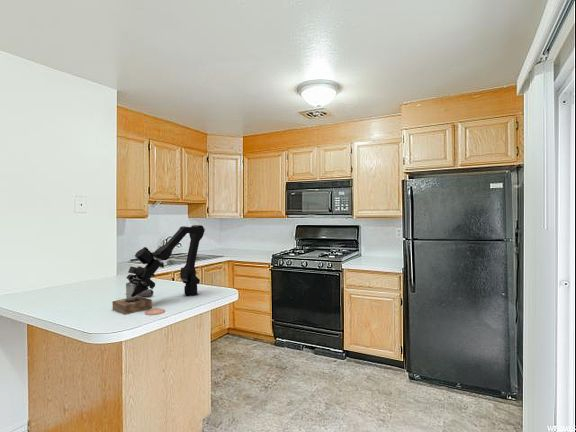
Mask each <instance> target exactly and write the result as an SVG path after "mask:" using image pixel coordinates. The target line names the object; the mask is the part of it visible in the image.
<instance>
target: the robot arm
mask: <svg viewBox="0 0 576 432" xmlns="http://www.w3.org/2000/svg"><path fill="white" fill-rule="evenodd" d="M205 230H206V229H205V227H204V226H203V225H199V224H194V225H191V226H185V225H184V226H179V229H177V231H176V232H175V233H174V235H172V236H171V238H170V239H169V240H168V241H167V242H166V243H165V244H163V245H160V246H159V247H158V248H157V249H156V250H154V251H153V252H152V251H151V250H150V249H148V247H146V246H143V248H141V249H140V250H138V251H137V252H136V253H135V255H134V257H135V259H137V260H138V261H139V262H140V263H141V264H143V265H145V266H144V267H143V266H137V267H135V266H130V267H129V269H128V271H127V273H128V275H127V276H126V277H125V278H126V279H127V280H128V283H129V282H137V287H136V289H135V290H134V292H133V293H132V295H131V296H132V297H134V296H136V295H138V294H139V293H141V292H143V291H145V290H147V289H152V290H154V288H155V287H156V282H154V281H153V280H152V279H151V278H152V277H155V273H157V271H158V269H159V268H161V269H163V268H164V267H165V265H164V262H166V261H167V260H169V258H170V257H171V255H172V254H173V250H174V249H175V247H177V245H178V244H179V243H180V242H181V241H182V240H183V239H184V237H186V235H187V234H189V235H188V236H189V238H190V241H189V242H190V243H189V246H188V252H187V256H186V261H185V265H184V266H183V267H181V268H180V273H179V278H180V279H181V280H182V283H183V284H184V286H183V287H184V291H183V293H184V295H185V297H188V296H189V297H190V296H198V295H199V293H198V285H199V284H200V282H201V280H200V279H199V277H198V276H197V270H196V267H195V265H196V262H197V261H196V260H197V254H198V250H199V245H200V241H201V240H202V238H203V237H204V234H205V232H206V231H205ZM161 261H163V262H161Z"/></svg>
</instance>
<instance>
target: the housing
mask: <svg viewBox="0 0 576 432" xmlns="http://www.w3.org/2000/svg"><path fill="white" fill-rule="evenodd" d="M152 303H153V301H152V299H150V298H147V297H145V296H138V301H135V302H130V303H128V302H126V298H123V299H122V298H121V299H116V300H112V310H113V311H115V312H119V313H120V312H121V314H123V315H129V314H133V313H135V312H140V311H144V310H150V309H152V307H153V305H152Z"/></svg>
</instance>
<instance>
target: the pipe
mask: <svg viewBox="0 0 576 432" xmlns="http://www.w3.org/2000/svg"><path fill="white" fill-rule="evenodd" d="M153 290H154V289H151V288H149V289H147V290H145V291H143V292H141V293H139V294H138V296H141V297H152V296H153V295H154V291H153Z"/></svg>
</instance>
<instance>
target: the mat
mask: <svg viewBox="0 0 576 432" xmlns="http://www.w3.org/2000/svg"><path fill="white" fill-rule="evenodd" d="M165 312H166V309H165V308H153V309H152V308H150V309H147V310H146V311H145V312H144V315H145V316H146V315H147V316H157V315H161V314H165Z"/></svg>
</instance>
